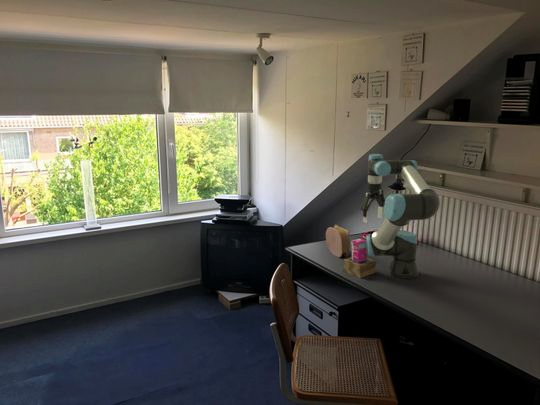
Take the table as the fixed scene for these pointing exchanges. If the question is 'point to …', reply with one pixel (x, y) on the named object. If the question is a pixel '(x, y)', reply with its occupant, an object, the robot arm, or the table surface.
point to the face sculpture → (338, 241)
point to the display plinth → (359, 267)
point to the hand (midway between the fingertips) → (372, 220)
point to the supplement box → (359, 251)
